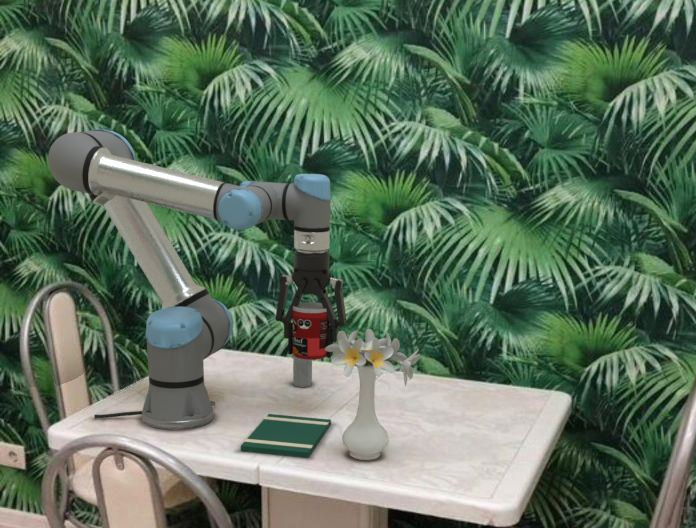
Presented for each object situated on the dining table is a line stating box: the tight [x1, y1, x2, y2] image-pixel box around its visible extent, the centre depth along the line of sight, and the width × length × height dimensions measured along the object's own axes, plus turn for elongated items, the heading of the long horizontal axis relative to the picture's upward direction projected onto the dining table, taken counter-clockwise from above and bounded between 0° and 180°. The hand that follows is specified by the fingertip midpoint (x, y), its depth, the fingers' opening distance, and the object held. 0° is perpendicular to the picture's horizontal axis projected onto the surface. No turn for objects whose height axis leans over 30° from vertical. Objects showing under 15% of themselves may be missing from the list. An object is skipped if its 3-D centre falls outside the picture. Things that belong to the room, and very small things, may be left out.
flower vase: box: [325, 328, 421, 461], centre depth 187 cm, size 13×18×25 cm
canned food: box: [291, 301, 330, 361], centre depth 208 cm, size 8×8×11 cm
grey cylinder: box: [292, 354, 313, 388], centre depth 231 cm, size 4×4×10 cm
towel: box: [240, 413, 332, 459], centre depth 199 cm, size 14×20×1 cm
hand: (310, 354), depth 210 cm, fingers closed on canned food, 8 cm apart
